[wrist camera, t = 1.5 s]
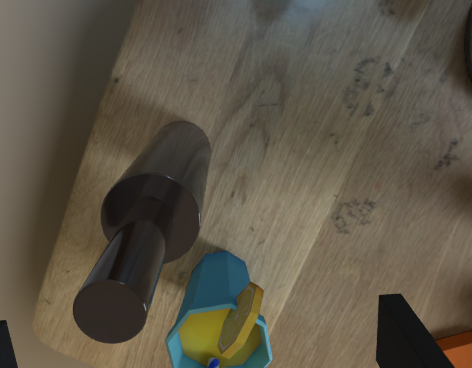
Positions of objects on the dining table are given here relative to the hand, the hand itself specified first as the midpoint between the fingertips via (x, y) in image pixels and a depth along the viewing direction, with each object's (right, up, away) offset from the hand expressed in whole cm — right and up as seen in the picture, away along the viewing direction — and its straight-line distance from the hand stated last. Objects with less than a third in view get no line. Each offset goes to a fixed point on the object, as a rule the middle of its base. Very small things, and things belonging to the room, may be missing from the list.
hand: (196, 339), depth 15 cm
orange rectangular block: (+23, -11, +28) cm, 38 cm away
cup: (0, -4, +26) cm, 26 cm away
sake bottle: (-3, +8, +22) cm, 23 cm away
